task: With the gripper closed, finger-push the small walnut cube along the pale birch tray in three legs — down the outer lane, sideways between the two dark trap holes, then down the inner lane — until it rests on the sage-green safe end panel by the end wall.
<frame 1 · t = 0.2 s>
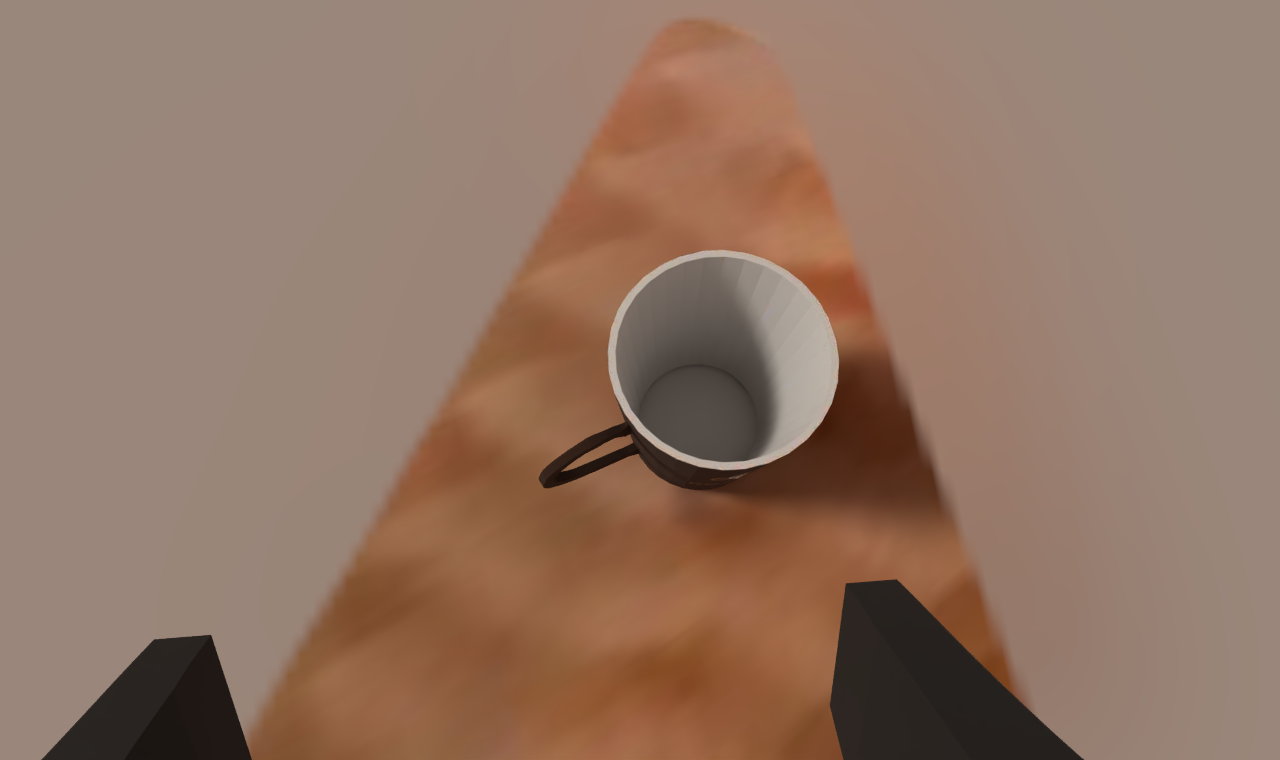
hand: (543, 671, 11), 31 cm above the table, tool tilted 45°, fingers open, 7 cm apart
black cup: (665, 427, 44), on the table
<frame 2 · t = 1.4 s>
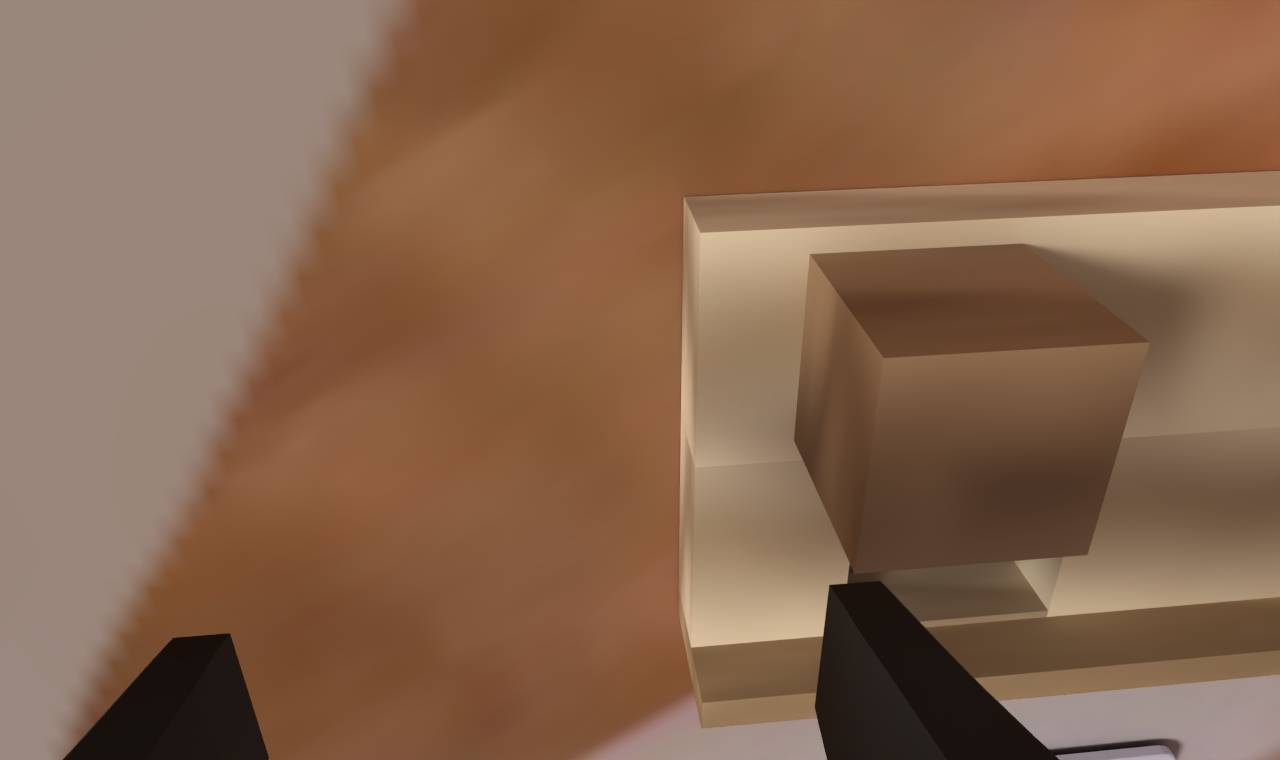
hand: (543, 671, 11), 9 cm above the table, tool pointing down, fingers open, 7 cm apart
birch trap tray: (1152, 385, 21), on the table
walnut block: (903, 346, 18), point 2 cm above the table, touching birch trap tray
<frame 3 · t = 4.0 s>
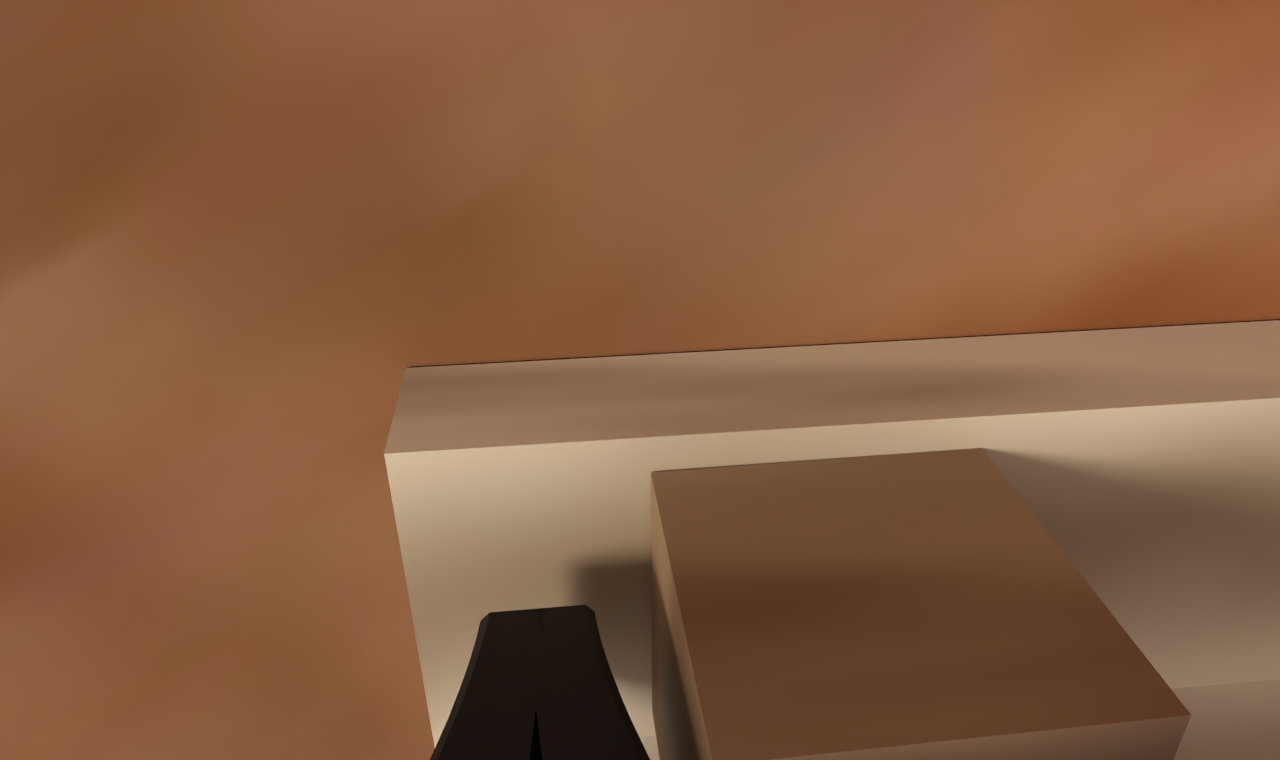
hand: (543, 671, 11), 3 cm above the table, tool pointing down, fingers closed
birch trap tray: (1114, 594, 15), on the table
walnut block: (805, 588, 12), point 2 cm above the table, touching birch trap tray, gripper
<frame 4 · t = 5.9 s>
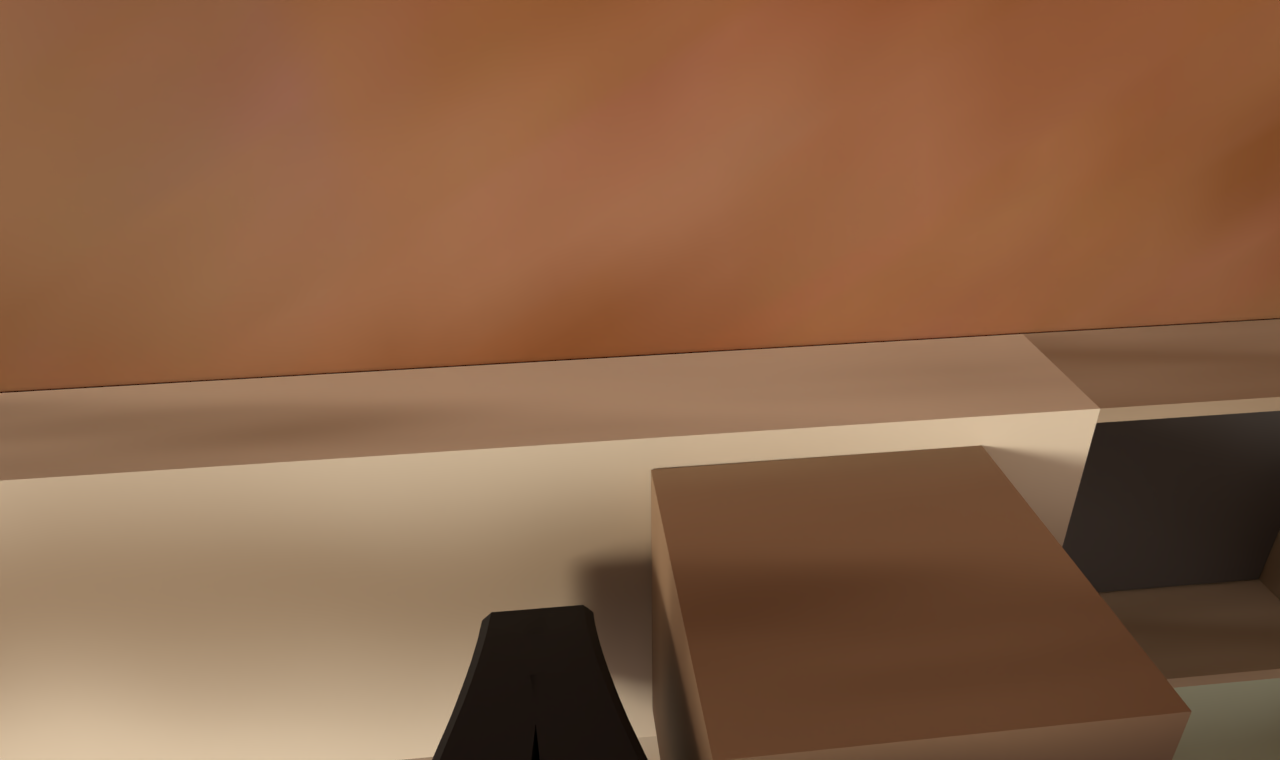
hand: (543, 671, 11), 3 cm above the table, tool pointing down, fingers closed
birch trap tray: (662, 631, 15), on the table
walnut block: (806, 586, 12), point 2 cm above the table, touching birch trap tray, gripper
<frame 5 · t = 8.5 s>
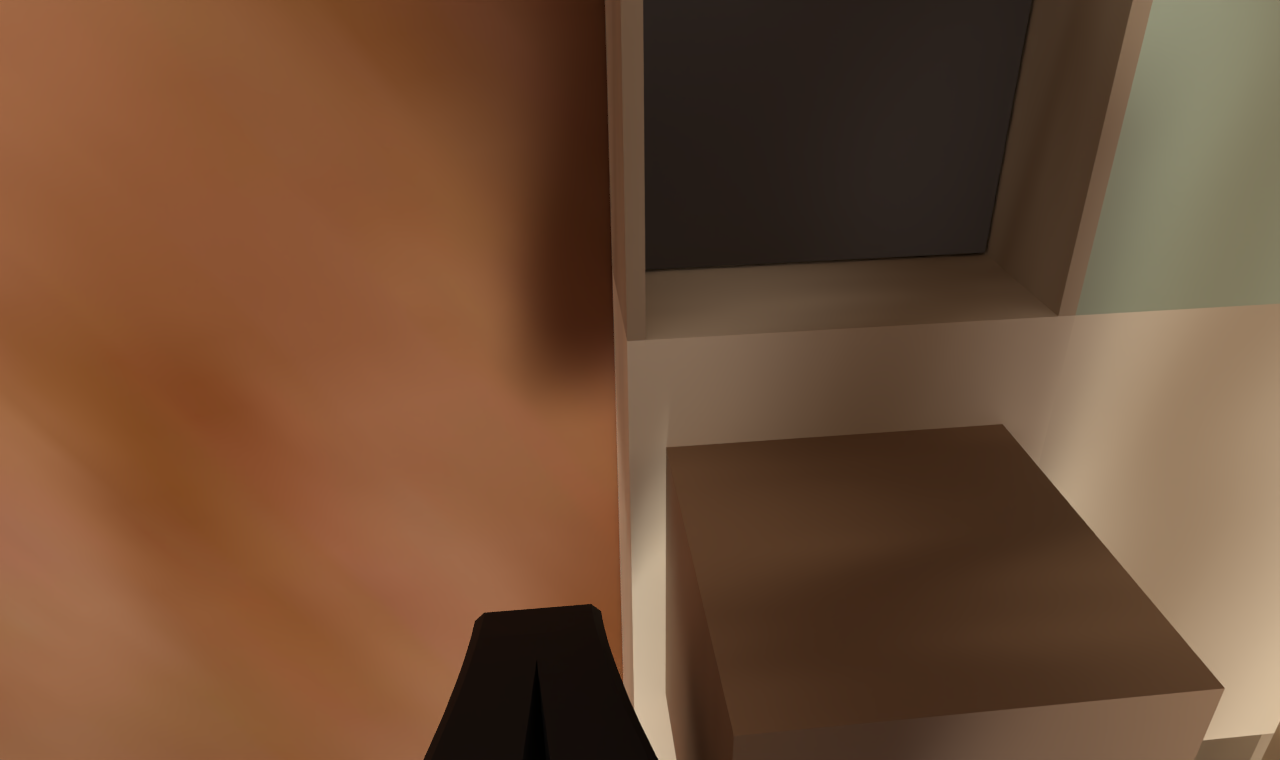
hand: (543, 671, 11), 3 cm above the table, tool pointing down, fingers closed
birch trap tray: (938, 549, 14), on the table
walnut block: (822, 568, 12), point 2 cm above the table, touching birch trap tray, gripper
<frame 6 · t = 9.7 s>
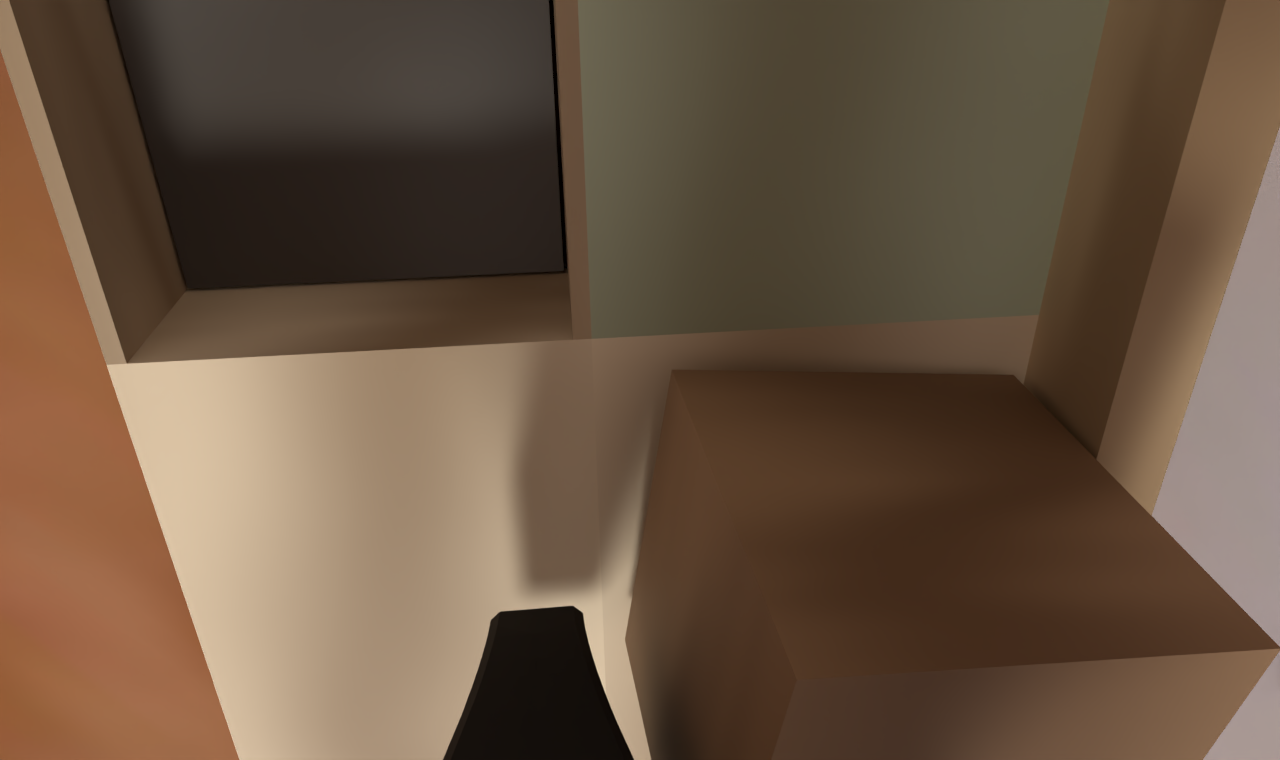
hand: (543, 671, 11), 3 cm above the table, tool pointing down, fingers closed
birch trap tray: (596, 571, 14), on the table
walnut block: (808, 514, 11), point 2 cm above the table, tilted 6°, touching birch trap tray, gripper
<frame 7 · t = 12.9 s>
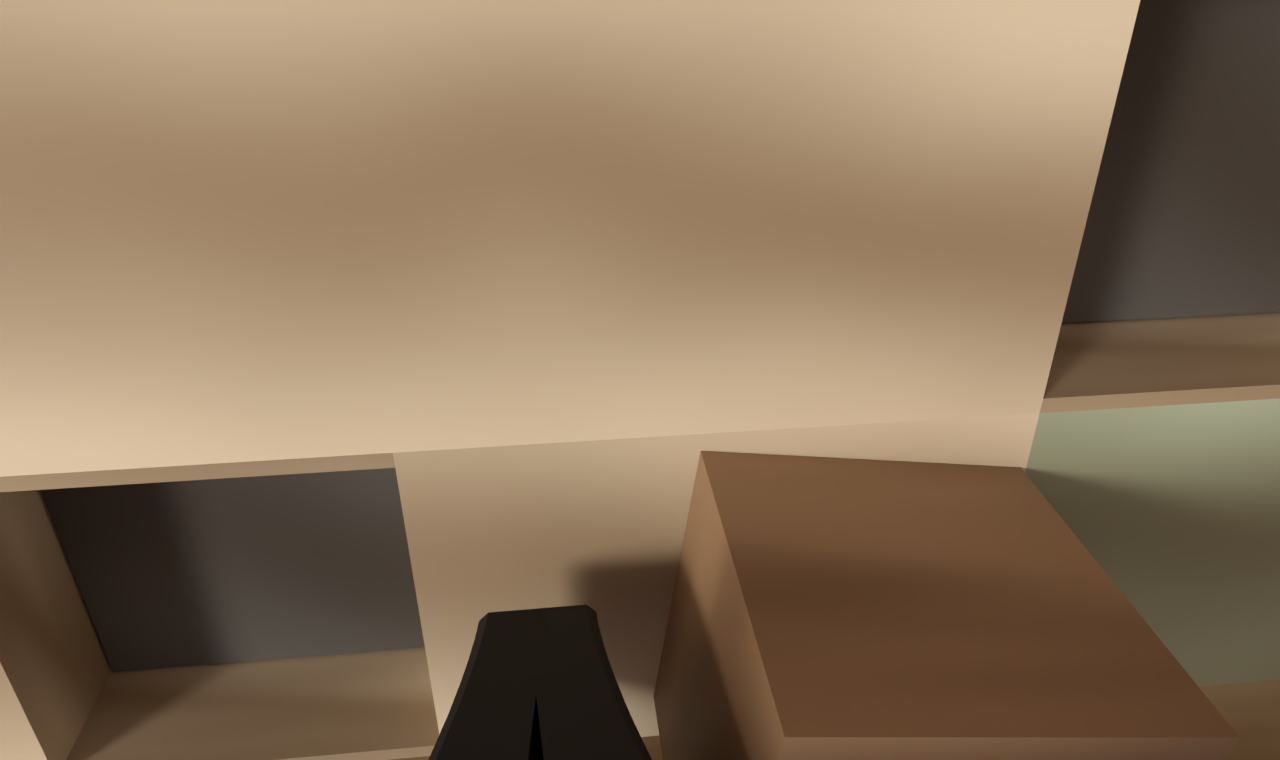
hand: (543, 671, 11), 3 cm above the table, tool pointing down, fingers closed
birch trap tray: (604, 356, 12), on the table
walnut block: (826, 587, 12), point 2 cm above the table, touching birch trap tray, gripper
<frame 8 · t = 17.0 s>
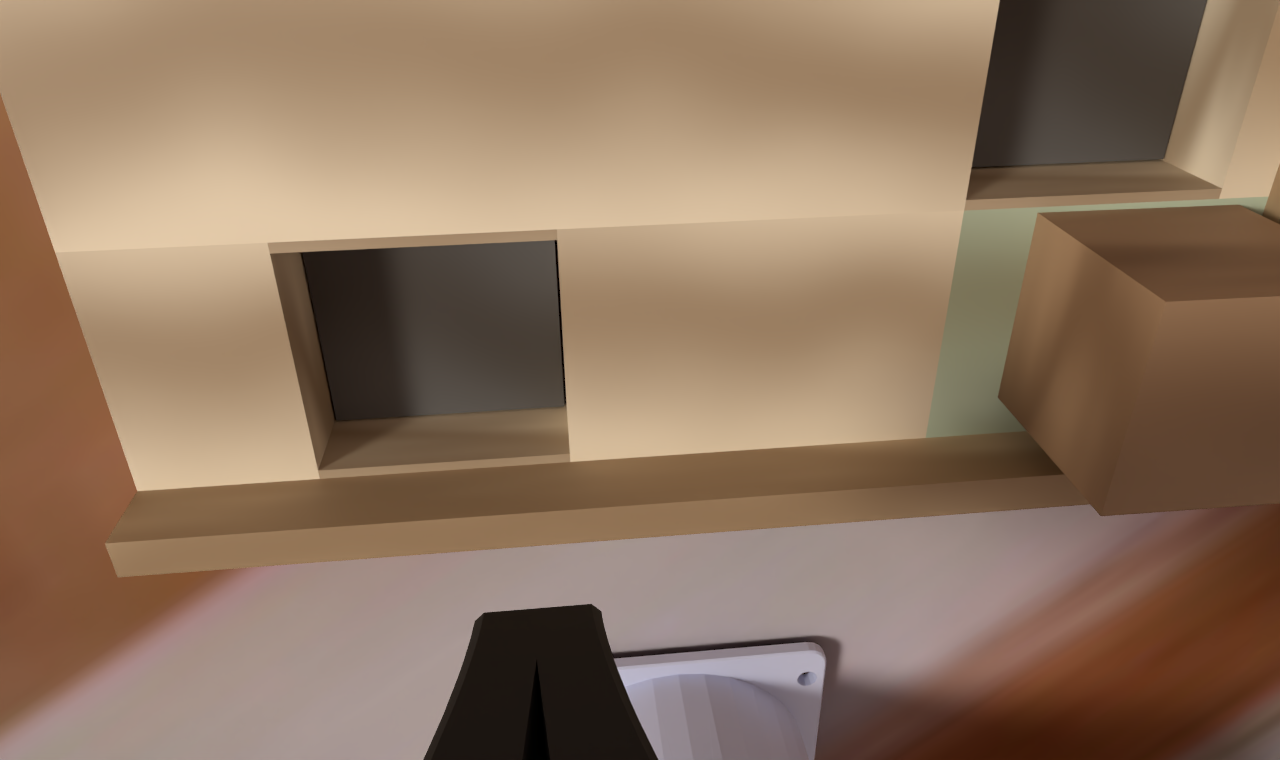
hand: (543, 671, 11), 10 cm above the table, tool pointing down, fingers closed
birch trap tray: (680, 188, 18), on the table
walnut block: (1112, 305, 18), point 2 cm above the table, touching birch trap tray
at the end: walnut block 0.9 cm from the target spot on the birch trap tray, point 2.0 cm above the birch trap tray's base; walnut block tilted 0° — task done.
